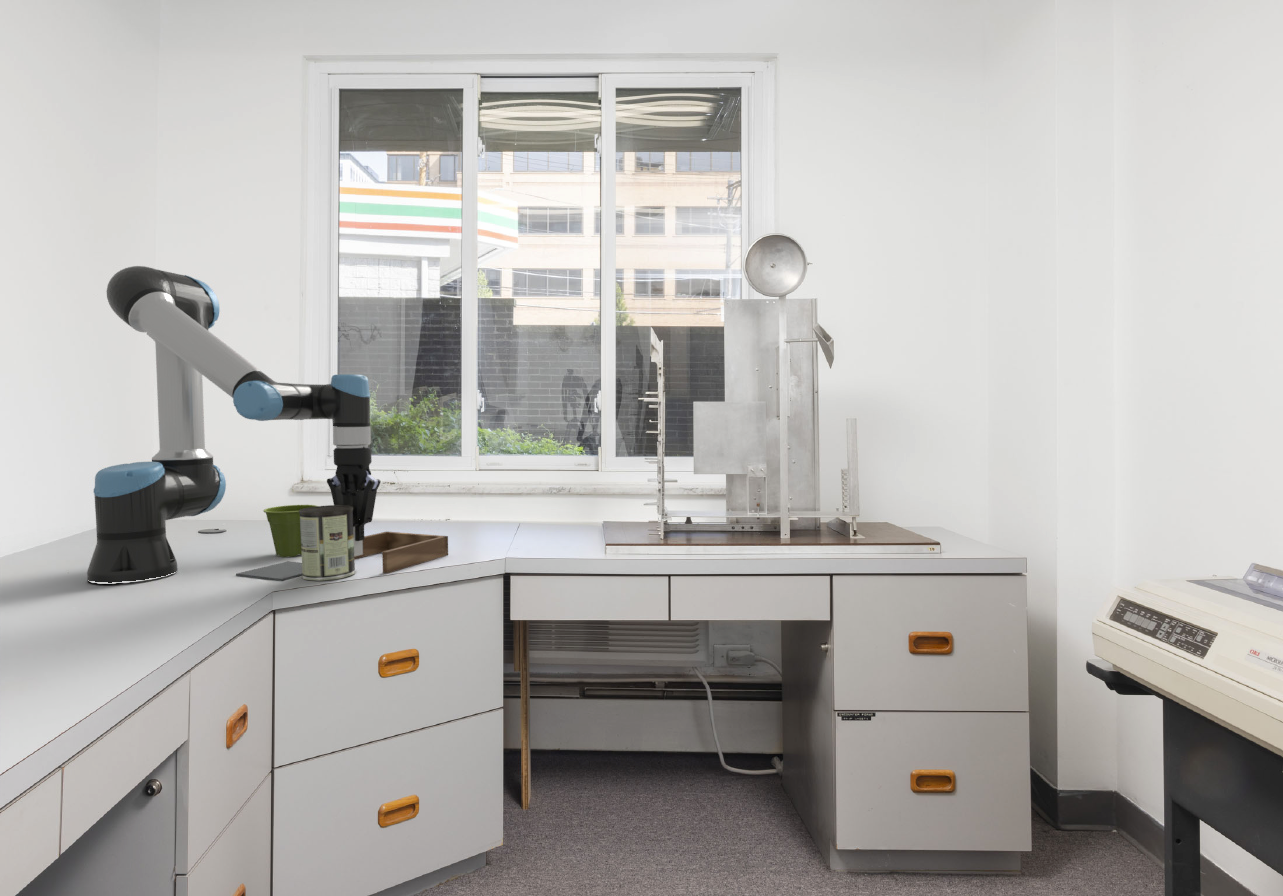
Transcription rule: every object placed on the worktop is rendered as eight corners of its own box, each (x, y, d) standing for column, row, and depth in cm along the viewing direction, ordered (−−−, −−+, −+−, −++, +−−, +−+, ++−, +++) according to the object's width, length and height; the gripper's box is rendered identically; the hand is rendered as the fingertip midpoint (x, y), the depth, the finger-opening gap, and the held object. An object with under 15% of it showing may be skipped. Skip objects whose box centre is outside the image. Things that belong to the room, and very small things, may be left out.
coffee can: (328, 568, 154) (326, 504, 153) (366, 571, 150) (364, 505, 149) (289, 578, 144) (287, 510, 143) (328, 582, 141) (326, 512, 140)
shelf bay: (321, 566, 156) (320, 546, 155) (387, 549, 175) (386, 531, 174) (387, 573, 149) (386, 552, 149) (448, 554, 168) (447, 536, 168)
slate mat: (236, 575, 147) (235, 573, 147) (288, 563, 159) (288, 561, 159) (281, 580, 142) (281, 578, 142) (332, 567, 154) (331, 565, 154)
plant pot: (265, 552, 171) (263, 506, 171) (318, 548, 177) (317, 503, 176) (264, 561, 161) (262, 512, 160) (321, 556, 166) (319, 509, 166)
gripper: (388, 446, 152) (391, 554, 154) (342, 445, 157) (345, 550, 158) (363, 448, 145) (366, 561, 147) (315, 447, 150) (319, 556, 152)
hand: (355, 555), depth 153 cm, fingers closed
